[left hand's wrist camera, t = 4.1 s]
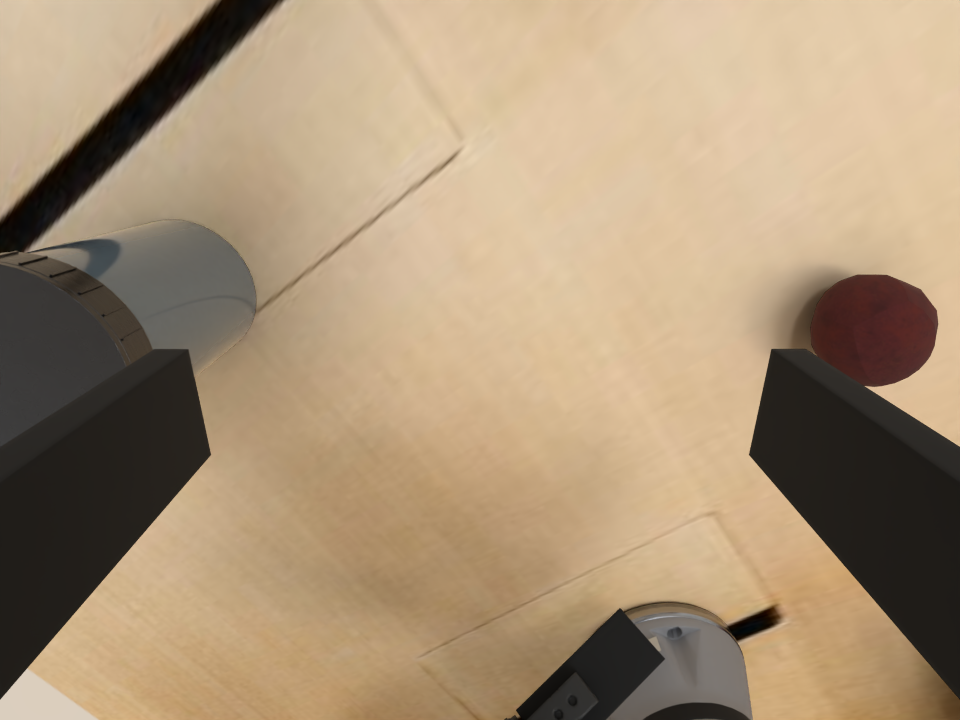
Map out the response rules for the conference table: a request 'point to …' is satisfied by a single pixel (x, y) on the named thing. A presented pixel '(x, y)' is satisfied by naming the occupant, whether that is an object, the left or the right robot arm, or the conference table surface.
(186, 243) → the jar
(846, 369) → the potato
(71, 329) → the lid
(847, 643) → the conference table surface
